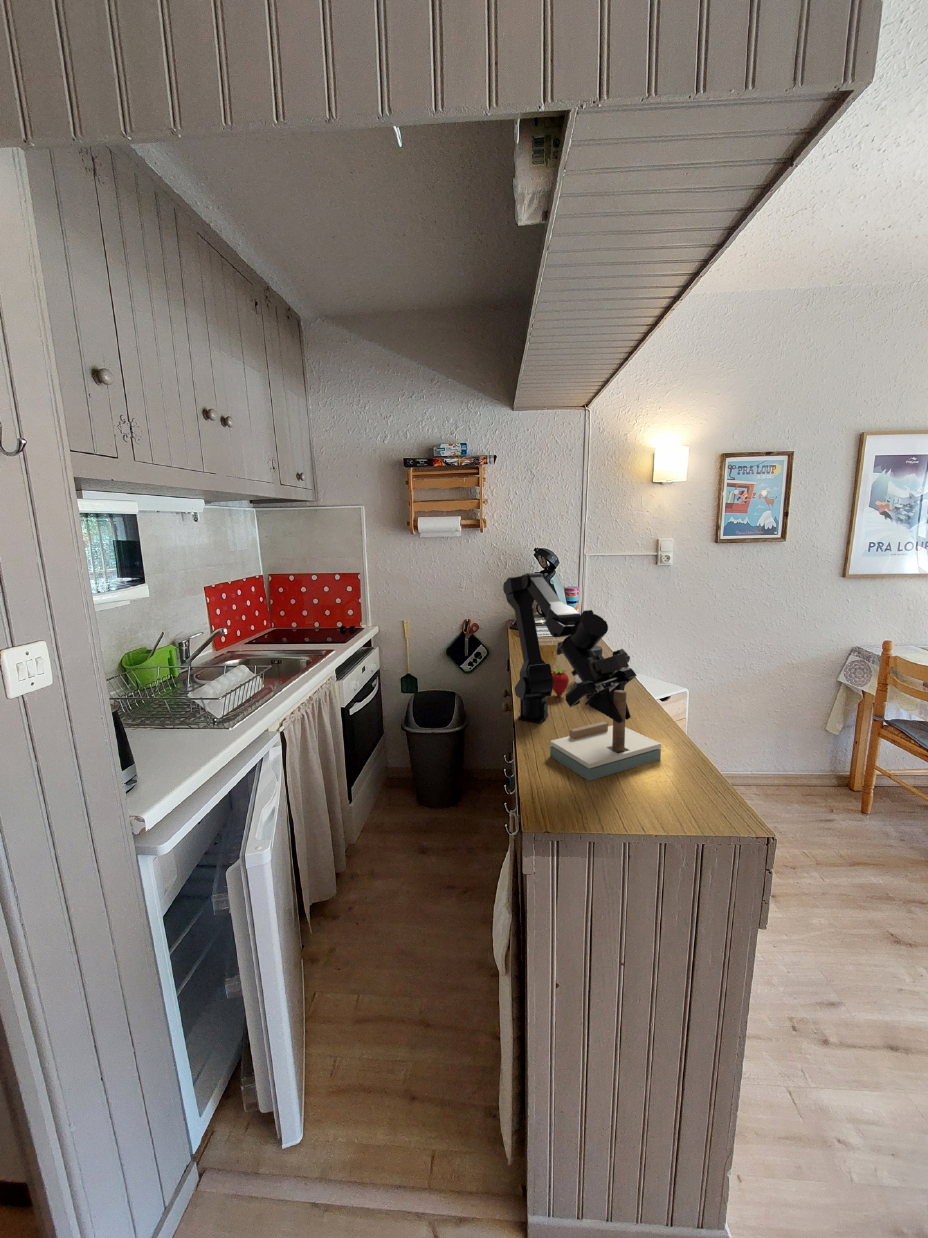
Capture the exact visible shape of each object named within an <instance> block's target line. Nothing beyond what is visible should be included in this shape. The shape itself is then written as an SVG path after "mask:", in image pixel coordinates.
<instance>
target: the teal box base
mask: <svg viewBox="0 0 928 1238" xmlns="http://www.w3.org/2000/svg"><path fill="white" fill-rule="evenodd" d="M549 746H550V747H549V748H550V749H549V751H550V752H549V755H550V758H552V759H553V760H555V761H557V762H558V763H560V764H561V765H563V766H565V767H566V768H568V769H569V770H570V771H572V772H574V773H576V774H577V775H579V776H581V777H582V778H583V779H585V780H586V781H588V782H590V781H593V780H597V779H601V778H603V777H607V776H610V775H613V774H617V773H621V772H623V771H627V770H630V769H633V768H636V767H640V766H643V765H647V764H649V763H653V762H657V761H659V760H661V757H662V749H661V748H659V749H655V750H652V751H648V752H645V753H641V754H638V755H634V756H631V757H628V758H624V759H621V760H617V761H614V762H610V763H607V764H603V765H600V766H596V767H593V768H587V767H586V766H584V765H582V764H581V763H579V762H577V761H576V760H574V759H572V758H571V757H569V756H568V755H566V754H564V753H563V752H561V751H559V750H558V749H556V748H554V747H553V746H551V745H549ZM612 751H613V752H615V753H617V754H619V753H622V752H624V751H622V750H621V751H619V750H612Z"/></svg>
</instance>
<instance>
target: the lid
mask: <svg viewBox="0 0 928 1238" xmlns="http://www.w3.org/2000/svg"><path fill="white" fill-rule="evenodd" d="M612 738H613V724H612V725H609V723H608V722H606V721H600V722H595V723H592V724H587V725H583V726H580V727H575V728H571V729H569V735H568V736H564V737H561V738H555V739H551V740H550V741H549V743H550V744H549V746H553V747H554V748H556V749H558V750H559V751H561V752H563V753H564V754H566V755H568V756H569V757H571V758H572V759H574V760H576V761H577V762H579V763H581V764H582V765H584V766H586V767H587V768H593V767H596V766H600V765H603V764H607V763H610V762H614V761H617V760H621V759H624V758H628V757H631V756H634V755H638V754H641V753H645V752H648V751H652V750H655V749H659V748H660V749H661V748H662V743H661V742H658V741H657V740H654V739H652V738H650V737H647V736H646V735H643V734H641V733H639V732H637V731H635V730H633V729H631V728H628V727H626V726H625V747H624V750H622V751H624V752H622V753H619V754H617V753H615V752H613V751H612V750H614V749H613V748H612Z"/></svg>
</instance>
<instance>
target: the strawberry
mask: <svg viewBox="0 0 928 1238" xmlns="http://www.w3.org/2000/svg"><path fill="white" fill-rule="evenodd" d="M551 673H552V676H553V680H554V684H553V689H552V691H553V692H554V693H555V694H556V696H557V697H561V696H563V694H564V692H565V691H566V689H567V688H568V685H569V682H570V679H569V678H570V677H569V676H568V674H567V670H564V669H563V670H561V669H560V668H558V669H556V670H555V669H553V670H552V669H551Z"/></svg>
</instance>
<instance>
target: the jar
mask: <svg viewBox="0 0 928 1238" xmlns="http://www.w3.org/2000/svg"><path fill="white" fill-rule="evenodd" d="M592 651H593V652H594V653H595V655H599V654H600V655H602V656H603V657H604V654H603V647H602V646H600V645H596V646H595V647H594V648H592ZM581 682H582V681H581V679H580V678H579V676H578V675H576V676H575V683H576V684H578V683H581Z"/></svg>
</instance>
